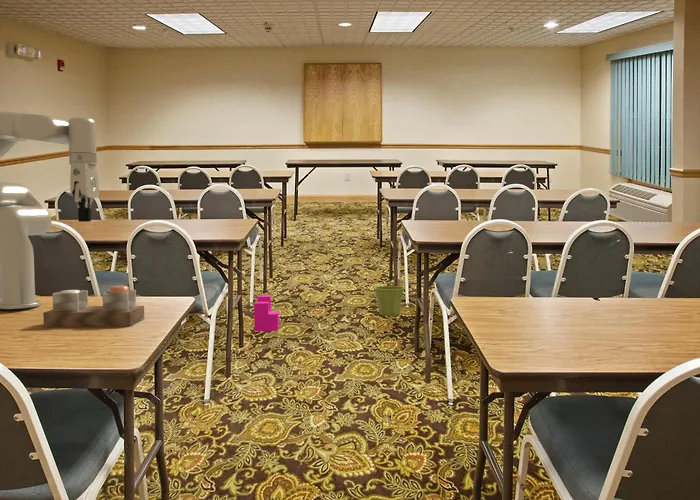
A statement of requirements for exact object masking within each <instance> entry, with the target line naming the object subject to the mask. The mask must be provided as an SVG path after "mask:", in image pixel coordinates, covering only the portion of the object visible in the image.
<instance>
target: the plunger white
mask: <svg viewBox="0 0 700 500" xmlns="http://www.w3.org/2000/svg"><path fill="white" fill-rule="evenodd" d="M78 292H80V289H67V290H66V289H65V290H61V293H78Z"/></svg>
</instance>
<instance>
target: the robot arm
mask: <svg viewBox="0 0 700 500" xmlns="http://www.w3.org/2000/svg"><path fill="white" fill-rule="evenodd" d="M96 127H97V125H96V122H95V120H94V119H93V118H89V117H85V116H84V117H82V116H81V117H80V116H77V117H76V116H75V117H72V118H71V117H70V118H69V119H66V118H61V117H56V116H51V115H44V114H37V113H36V114H35V113H34V114H33V113H24V112H15V111H6V110H5V111H2V110H0V159H2V158H3V157H4V156H5V155H6V154H7V153H8V152H9V151H11V150H12V148H13V147H14V146H15V145H17V143H18V142H19V141H20V142H25V141H27V140H31V141H38V142H44V143H45V142H46V143H53V144H60V145H67V146H68V161H69V162H68V163H69V166H70V172H69V173H70V177H69V178H70V179H69V186H70V195H71V196H72V197H73V198H74V201H75V202H76V207H77V215H78V216H77V217H78V222H81V223H82V222H86V223H87V222H89V223H90V222H92V203H94V199H97V198H99V196H100V191H99V186H100V185H99V177H98V171H97V165H98V164H97V128H96ZM52 221H53V220H52V217H51V214H50V212H49V210H48V209H47V208H46V207H45V206H44V205H43V203H42V202H41V201H40V200H39V199H38V198H37V197H36V196H35V194H34V193H33V192H32V191H31V190H30V189H29V188H28V187H26V186H25V185H23V184H22V183H17V182H5V181H2V180H0V310H15V309H16V310H18V309H19V310H20V309H28V308H35V307H39V306H41V305H42V303H41V300H36V284H35V256H34V255H35V254H34V246H33V244H32V242H31V240H30V238H29V236H40V235H44V234H46V233H48V232H49V231H50V229H51V226H52Z"/></svg>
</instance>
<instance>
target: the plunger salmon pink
mask: <svg viewBox="0 0 700 500" xmlns="http://www.w3.org/2000/svg"><path fill="white" fill-rule="evenodd" d="M129 290H130V287H129V286H128V285H112V286H109V291H110V293H127V292H129Z"/></svg>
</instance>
